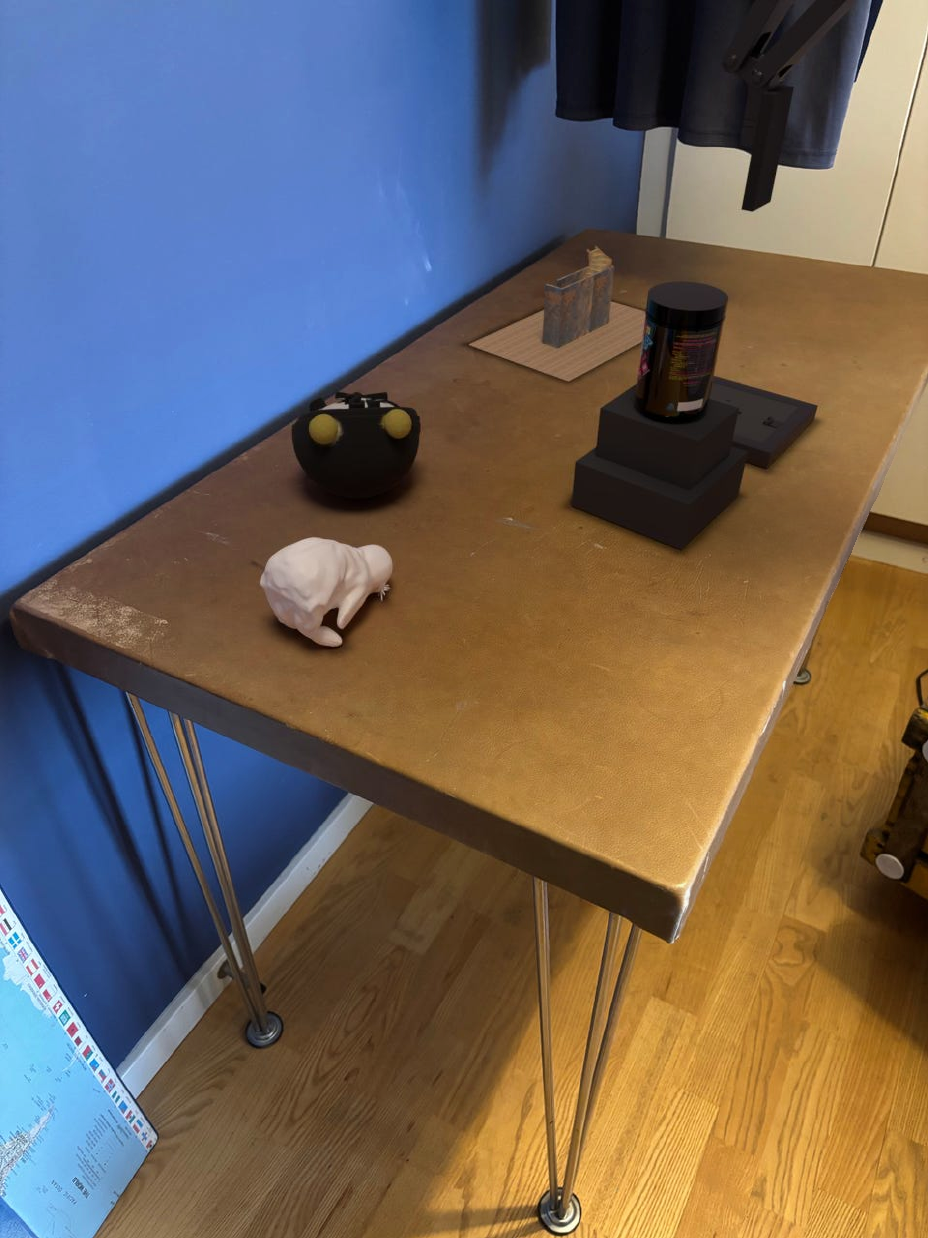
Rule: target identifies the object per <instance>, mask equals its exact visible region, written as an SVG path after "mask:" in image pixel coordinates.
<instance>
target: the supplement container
mask: <svg viewBox="0 0 928 1238" xmlns="http://www.w3.org/2000/svg"><path fill="white" fill-rule="evenodd" d="M728 303H729V296H728V294H727V293H726V292H725V291H724V290H721V289H720V288H718V287H715V286H713V285H709V284H707V283H700V282H697V281H696V282H695V281H683V280H682V281H668V282H662V283H659V284H656V285H654V286H651V287H650V288H649V289H648V291H647V295H646V304H645V309H644V311H645V322H644V330H643V337H642V342H641V346H640V354H639V363H638V369H637V375H636V392H635V403H636V406H637V408H638V409H639V411H640V412H641V413H642V414H644V415H645V416H647V417H649V418H651V419H654V420H657V421H661V422H668V423H684V422H689V421H693V420H695V419H697V418H699V417H700V416H702V415H703V414H704V413H705V411H706V410H707V408H708V404H709V399H710V393H711V388H712V383H713V377H714V376H715V371H716V366H717V361H718V355H719V351H720V344H721V341H722V340H721V338H722V333H723V329H724V323H725V320H726V316H727V315H726V314H727V310H728Z"/></svg>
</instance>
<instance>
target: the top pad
mask: <svg viewBox="0 0 928 1238" xmlns="http://www.w3.org/2000/svg"><path fill="white" fill-rule="evenodd" d="M636 384H637V383H636ZM636 384H634V385H632V386H631V387H629V388H628V389H626V390H624V391H623V392H622V393H621V394H619V395H617V396H616V397H614V398H613V399H612V400H610V401H608V402H607V403H606V404H604V405H603V406H601V407H600V409H599V418H598V430H597V438H596V445H595V447H596V456H598V457H600V458H603V459H606V460H608V461H611V462H614V463H617V464H619V465H622V466H625V467H627V468H630V469H633V470H636V471H638V472H641V473H644V474H647V475H649V476H652V477H655V478H657V479H660V480H663V481H666V482H668V483H671V484H674V485H676V486H679V487H682V488H685V489H687V490H690V489H692V488H693V487H694V486H695V485H696V484H697V483H698V482H700V481H701V480H702V479H703V478H704V477H705V476H706V475H708V474H709V473H710V472H711V471H712V470H713V469H714V468H716V467H717V466H718V465H719V464H720V463H721V462H722V461H724V460H725V459H726V458H727V457H728V456H729V454H730V449H731V444H732V440H733V435H734V430H735V425H736V421H737V416H738V411H739V408H738V407H734V406H731V405H728V404H725V403H722V402H718V401H715V400H712V399H709V404H708V408H707V410H706V411H705V413H704V414H703V415H702V416H700V417H699V418H697V419H695V420H693V421H689V422H684V423H668V422H661V421H657V420H654V419H651V418H649V417H647V416H645V415H644V414H642V413H641V412H640V411H639V409H638V408H637V406H636V403H635V392H636Z"/></svg>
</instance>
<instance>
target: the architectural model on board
mask: <svg viewBox="0 0 928 1238" xmlns="http://www.w3.org/2000/svg"><path fill="white" fill-rule="evenodd" d="M586 253H588V256H587V257H588V266H586V267H584V268H581V269H579V270H576V271H574V272H572V273H570V274H567V275H565V276H563V277H560V278H558V279H556V281H555V282H556V283H555V285H552V284H548V283H545V288H544V303H543V306H544V307H543V309H542V310H540V311H538V312H536V313H534V314H532V315H530V316H527V317H525V318H523V319H521V320H519V321H515V322H514V323H512V324H510V325H507V326H506V327H503V328H501V329H498V330H497V331H494V332H492V333H491V334H488V335H485V336H483V337H482V338H479V339H478V340H474V341H473V342H471V343H469V344H468V346H470V347H474V348H476V349H479V350H481V351H484V352H486V353H490V354H492V355H495V356H497V357H499V358H502V359H506V360H509V361H511V362H514V363H517V364H518V365H522V366H524V367H527V368H530V369H533V370H536V371H538V372H541V373H542V374H543V373H544V374H546V375H549V376H552V377H554V378H557V379H560V380H562V381H565V382H568V383H569V382H571V381H573V380H574V379H576V378H579V377H580V376H582V375H583V374H584V375H585V373H587V372H589V371H591V370H593V369H595V368H596V367H598V366H600V365H602V364H604V363H605V362H607V361H609V360H611V359H613V358H615V357H617V356H619V355H620V354H622V353H624V352H625V351H628V350H629V349H631V348H633V347H635V346H637V345H638V344H640V343H642V337H643V330H644V322H645V310H641V309H638V308H635V307H632V306H628V305H624V304H621V303H618V302H614V301H612V293H613V286H614V285H613V284H614V274H615V265H613V264H612V263H613V259H611V257H610V256H608V255H606V254H605V253H604V252H603V251H602V250H601V249H600V248H599V247H598V246H597V245H595V246H594V249H593V250H590V249H588V248H587V249H586Z"/></svg>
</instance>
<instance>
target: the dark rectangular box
mask: <svg viewBox="0 0 928 1238" xmlns="http://www.w3.org/2000/svg"><path fill="white" fill-rule="evenodd" d="M747 455H748V451H745V450H742V449H739V448H736V447H733V446H731V449H730V454H729V456H728V457H727V458H726V459H725V460H724V461H722V462H721V463H720V464H719V465H718V466H717V467H716V468H714V469H713V470H712V471H711V472H710V473H709V474H708V475H706V476H705V477H704V478H703V479H702V480H701V481H700V482H698V483H697V484H696V485H695V486H694V487H693V488H692V489H690V490H687V489H685V488H682V487H679V486H676V485H674V484H671V483H668V482H666V481H663V480H660V479H657V478H655V477H652V476H649V475H647V474H644V473H641V472H638V471H636V470H633V469H630V468H627V467H625V466H622V465H619V464H617V463H614V462H611V461H608V460H606V459H603V458H600V457H598V456H596V446H595V447H594V448H592V449H590V451H588V452H587V453H585V454H584V455H582V456H581V457H580V458H578V459H577V460H576V461H575V464H574V465H575V466H574V473H573V474H574V475H573V486H572V498H571V507H573V508H575V509H578V510H579V511H583V512H586V513H588V514H590V515H593V516H595V517H598V518H600V519H602V520H605V521H607V522H610V523H613V524H615V525H617V526H619V527H622V528H625V529H627V530H629V531H632V532H635V533H637V534H639V535H642V536H645V537H648V538H649V539H652V540H654V541H657V542H659V543H662V544H664V545H667V546H669V547H672V548H674V549H677V550H680V551H682V550H683V549H684V548H685V547H686V546H687V545H688V544H689V543H690V542H691V541H692V540H693V539H694V538H695V537H696V536H698V534H700V532H702V531H703V530H704V529H705V528H706V527H707V526H708V525H709V524H710V523H711V522H712V521H713V520H714V519H715V518H716V517H717V516H719V514H721V513H722V512H723V511H724V510H726V508H727V507H729V505H730V504H731V503H732V502H734V500H736V499H737V498H738V496H739V495H740V490H741V486H742V482H743V477H744V471H745V469H746V463H747V462H746V459H747Z"/></svg>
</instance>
